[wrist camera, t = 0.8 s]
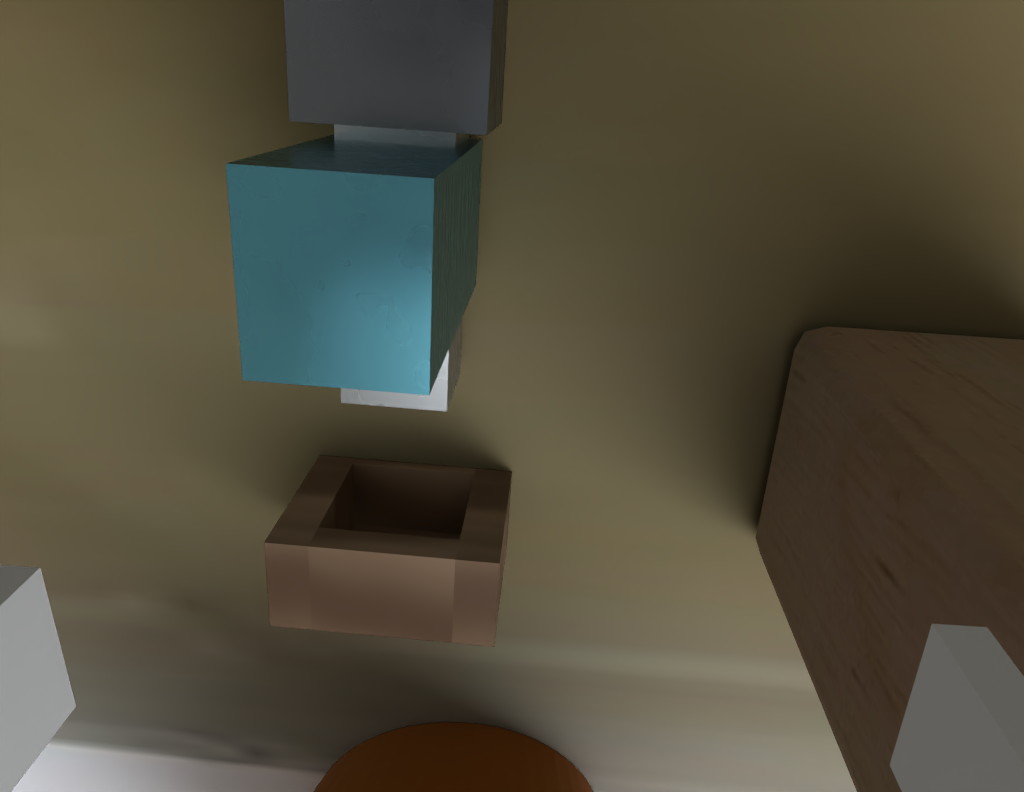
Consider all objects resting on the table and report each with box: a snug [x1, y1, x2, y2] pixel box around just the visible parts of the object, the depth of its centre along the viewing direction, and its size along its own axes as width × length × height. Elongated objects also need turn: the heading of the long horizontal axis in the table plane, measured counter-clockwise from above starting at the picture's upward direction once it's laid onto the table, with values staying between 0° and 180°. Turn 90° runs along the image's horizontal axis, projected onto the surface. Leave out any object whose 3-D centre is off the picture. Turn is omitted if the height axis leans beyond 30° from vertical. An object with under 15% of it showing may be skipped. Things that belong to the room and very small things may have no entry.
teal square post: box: [226, 124, 482, 411], centre depth 21 cm, size 19×4×10 cm, turn 176°
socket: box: [264, 455, 512, 647], centre depth 30 cm, size 4×8×6 cm, turn 86°
